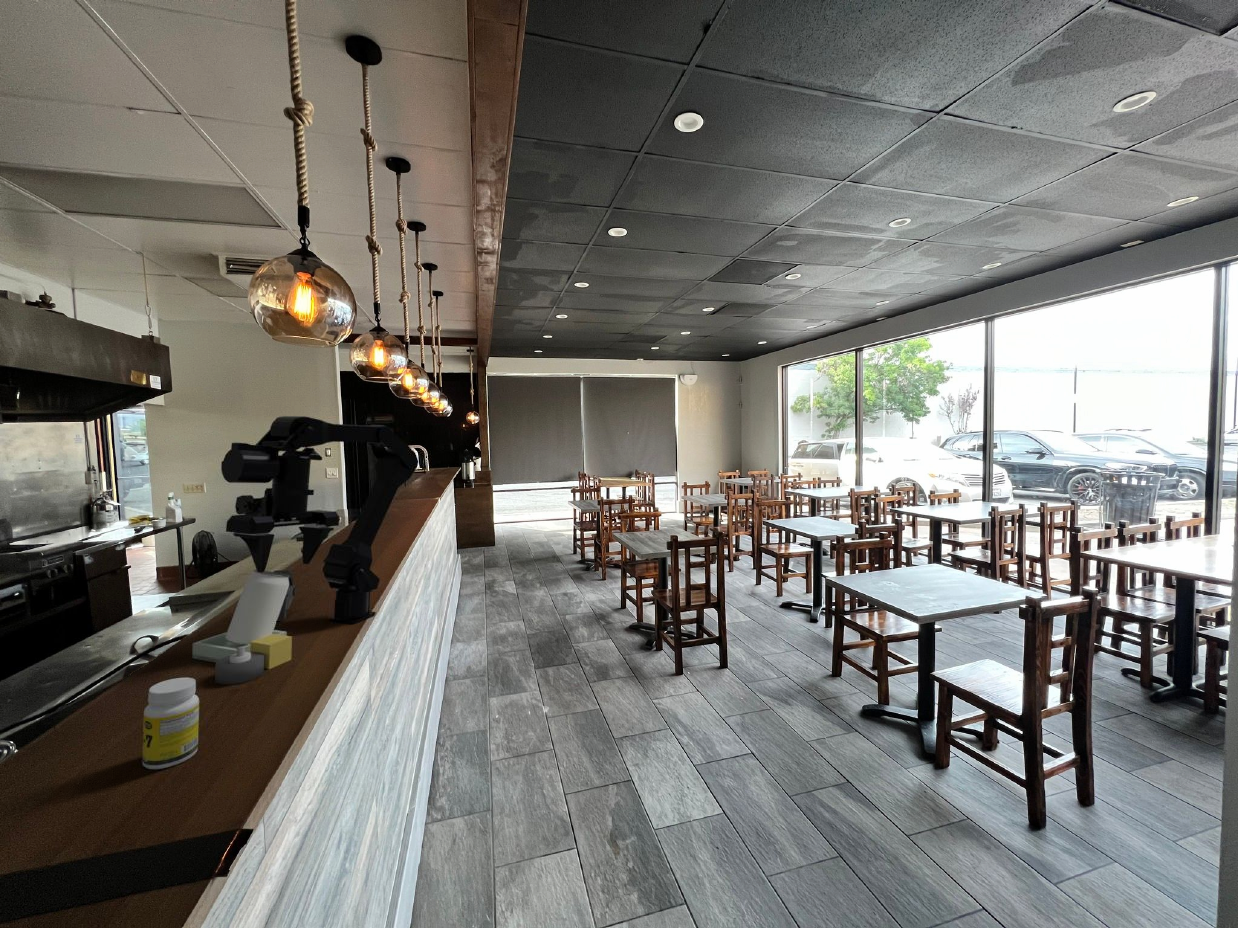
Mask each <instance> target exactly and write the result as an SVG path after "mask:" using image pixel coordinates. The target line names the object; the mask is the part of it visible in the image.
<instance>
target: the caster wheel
mask: <svg viewBox="0 0 1238 928" xmlns="http://www.w3.org/2000/svg"><path fill="white" fill-rule="evenodd" d="M272 572H277V573H282V574H286V575H289V576H290V577H289V578H288V580H289V587H288V590H287V593H286V596H285V599H284V602H283V604H282V607H281V610H280V613H279V616H278V619H277V621H280V622H283V621H285V620H286V618H287V613H288V609H290V607H291V604H292V602H293V600H294V598H295V596H296V595H297V587H296V586H295V585H294V576H293V573H292V571H291V570H287V569H284V570H282V569H281V570H274V571H272ZM284 619H285V620H284Z"/></svg>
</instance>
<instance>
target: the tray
mask: <svg viewBox="0 0 1238 928" xmlns="http://www.w3.org/2000/svg"><path fill="white" fill-rule="evenodd" d="M287 633H288V632H287V631H285V630H284V631H282V630H277V629H274V630H273V632H272V634H279V635H285V636H288V634H287ZM226 634H227V631H226V632H223V633H220V634H216V635H214V636H213V635H212V636H211V637H208V638H205V639H201V640H198V641H196V642H193V643H192V659H195V660H199V661H200V660H201V661H206V662H211V663H216V662H217V661H218V660H220V659H222V658H224V657H227V656H230V655H233V654H236V653H237V647H241V646H244V647H245V652H250V644H249V645H239V644H234V643H230V642H228V641H227V639H226V638H225V637H226Z"/></svg>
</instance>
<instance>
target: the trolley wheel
mask: <svg viewBox="0 0 1238 928" xmlns="http://www.w3.org/2000/svg"><path fill="white" fill-rule="evenodd" d="M214 666H215V668H214V670H215V671H214V674H215V675H214V682H215V683H216V684H219V685H235V684H237V685H238V684H242V683H246V682H249V681H252V680H254V679H257V678H259V677H260V676H262V675H263V674H264V669H265V668H264V655H263V654H262V653H258V652H245V647H244V646H241V647H237V653H236V654H233V655H230V656H227V657H224V658H222V659H220V660H218V661H217V662H215V665H214Z"/></svg>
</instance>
